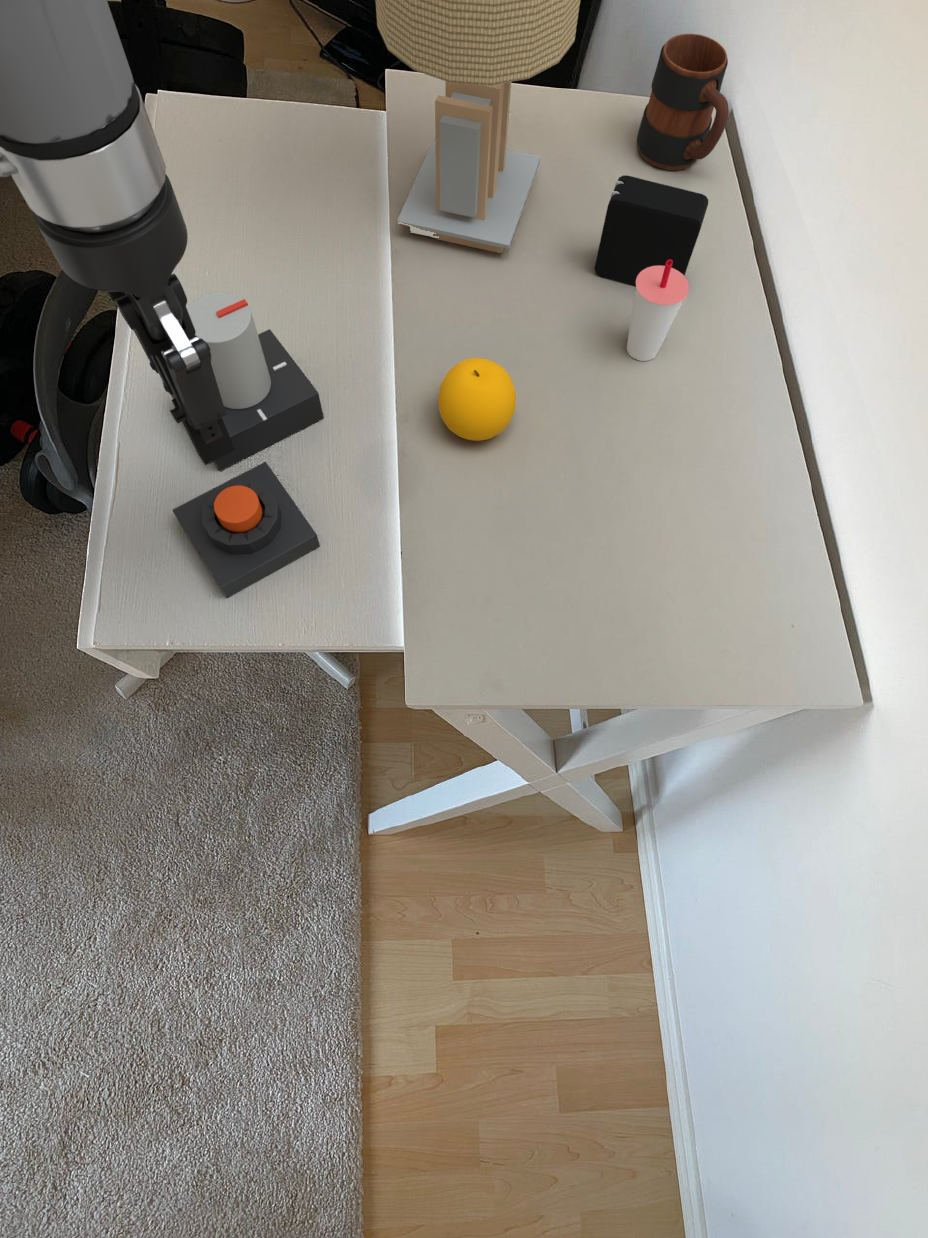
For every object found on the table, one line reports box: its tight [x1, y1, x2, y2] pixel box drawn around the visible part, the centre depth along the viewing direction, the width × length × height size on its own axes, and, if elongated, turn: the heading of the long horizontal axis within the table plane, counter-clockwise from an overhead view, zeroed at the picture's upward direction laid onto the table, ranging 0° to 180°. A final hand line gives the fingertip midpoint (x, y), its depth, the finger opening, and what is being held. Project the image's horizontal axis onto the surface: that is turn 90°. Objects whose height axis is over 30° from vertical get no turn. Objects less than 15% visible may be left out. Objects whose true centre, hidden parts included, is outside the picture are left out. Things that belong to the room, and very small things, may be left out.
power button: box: [214, 486, 262, 533], centre depth 72 cm, size 4×4×2 cm
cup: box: [626, 259, 690, 362], centre depth 81 cm, size 5×5×12 cm
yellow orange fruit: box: [437, 357, 517, 442], centre depth 79 cm, size 8×8×8 cm
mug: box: [636, 33, 730, 171], centre depth 95 cm, size 9×12×12 cm
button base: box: [172, 461, 321, 599], centre depth 74 cm, size 10×10×4 cm
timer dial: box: [186, 291, 271, 409], centre depth 74 cm, size 6×6×9 cm
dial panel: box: [170, 328, 325, 472], centre depth 80 cm, size 12×10×4 cm
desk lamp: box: [375, 0, 581, 254], centre depth 80 cm, size 20×20×35 cm
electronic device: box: [593, 174, 709, 287], centre depth 87 cm, size 4×10×10 cm, turn 71°
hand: (216, 451), depth 64 cm, fingers closed
